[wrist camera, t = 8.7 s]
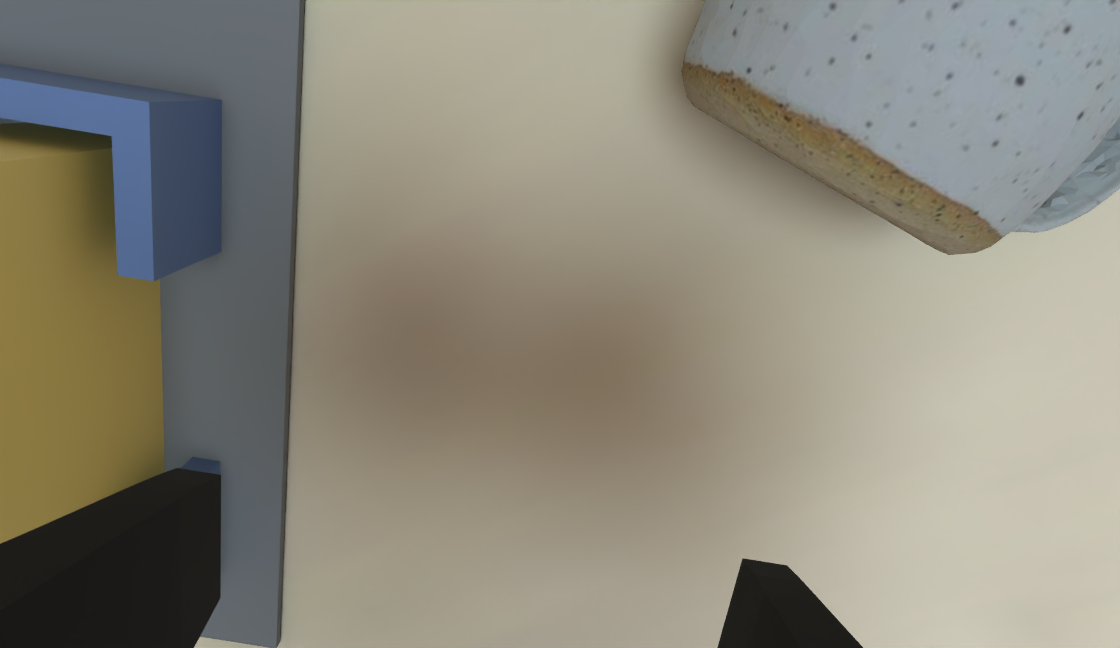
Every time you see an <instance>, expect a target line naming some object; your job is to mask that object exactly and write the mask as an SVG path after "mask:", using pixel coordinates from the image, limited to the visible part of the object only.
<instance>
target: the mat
mask: <svg viewBox="0 0 1120 648" xmlns="http://www.w3.org/2000/svg"><path fill="white" fill-rule="evenodd" d="M304 4H305V0H0V64H6V65H12V66H18V67H24V68H30V69H36V70H42V71H49V72H55V73H61V74H67V75H73V76H79V77H85V78H91V79H97V80H103V81H110V82H116V83H122V84H128V85H134V86H140V87H146V88H152V89H158V90H165V91H171V92H177V93H183V94H189V95H195V96H201V97H207V98H213V99H219V100H222V219H221V252H220V253H217V254H215V255H213V256H211V257H208V258H206V259H204V260H201V261H199V262H197V263H195V264H192V265H190V266H188V267H185V268H183V269H181V270H179V271H176V272H174V273H172V274H170V275H167V276H165V277H163V278H160V306H161V345H162V384H163V422H164V461H165V472H167V471H170V470H172V469H175V468H181V467H182V466H183V465H184V464H186V463H187V462H188V461H189V460H190V459H191V458H192V457H196V458H202V459H209V460H215V461H220V475H221V598H220V600H219V602H218V604H217V606H216V608H215V609H214V611H213V613H212V615H211V617H210V619H209V621H208V623H207V624H206V626H205V628H204V630H203V632H202V634H201V636H200V637H207V638H213V639H219V640H226V641H232V642H238V643H245V644H251V645H257V646H263V647H270V648H277V646H278V644H279V643H280V631H281V605H282V579H283V553H284V526H285V500H286V474H287V448H288V422H289V396H290V370H291V344H292V318H293V292H294V265H295V239H296V213H297V187H298V161H299V135H300V109H301V83H302V57H303V31H304ZM22 122H23V121H17V120H10V119H4V118H0V124H5V123H22Z"/></svg>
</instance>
